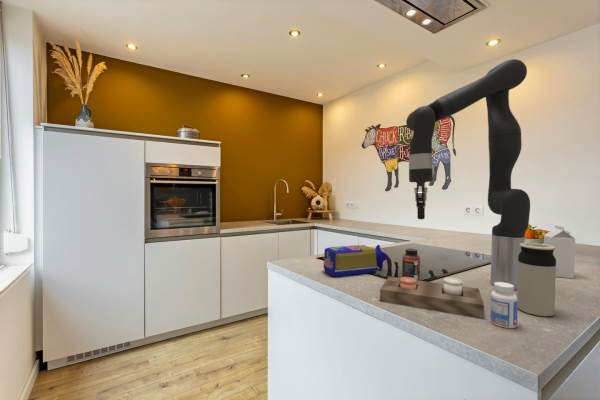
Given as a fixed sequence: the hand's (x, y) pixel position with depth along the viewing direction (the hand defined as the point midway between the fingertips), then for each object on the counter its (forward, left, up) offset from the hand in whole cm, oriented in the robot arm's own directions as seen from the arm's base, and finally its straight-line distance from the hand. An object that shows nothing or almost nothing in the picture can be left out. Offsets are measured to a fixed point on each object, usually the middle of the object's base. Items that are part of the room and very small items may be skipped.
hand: (421, 218), depth 99 cm
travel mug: (-30, +9, -23) cm, 39 cm away
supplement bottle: (+3, -4, -23) cm, 24 cm away
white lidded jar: (-10, +14, -21) cm, 27 cm away
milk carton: (-47, -37, -23) cm, 64 cm away
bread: (+25, -5, -23) cm, 34 cm away
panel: (-4, +14, -23) cm, 27 cm away
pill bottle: (-21, +22, -23) cm, 38 cm away
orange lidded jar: (+2, +14, -22) cm, 26 cm away
